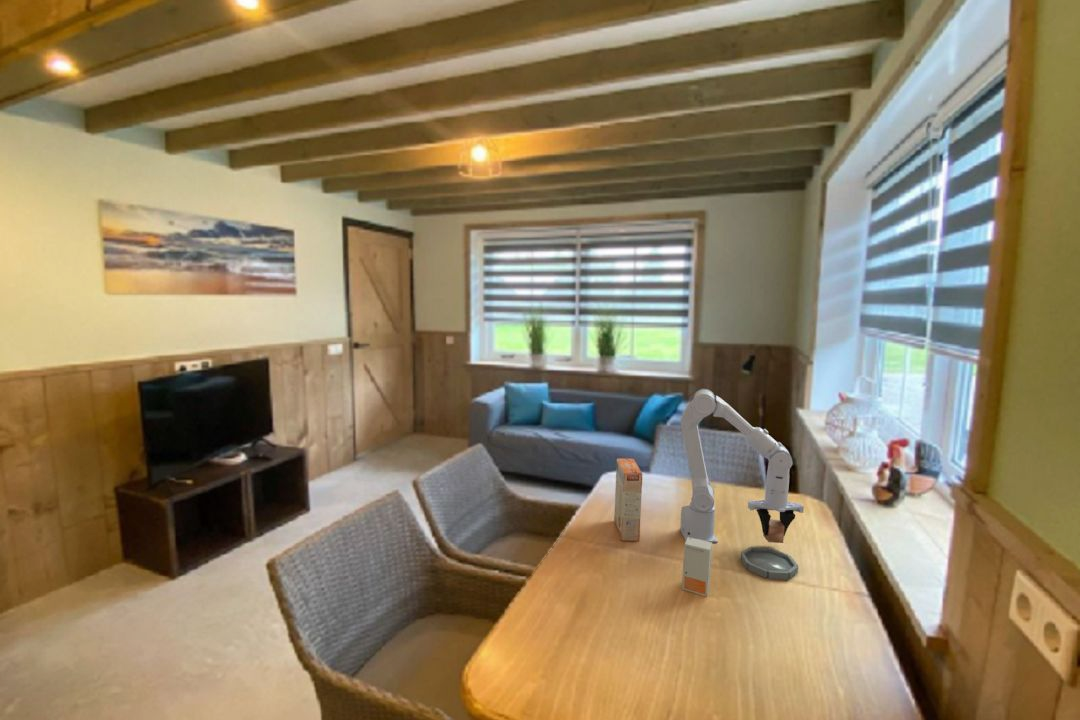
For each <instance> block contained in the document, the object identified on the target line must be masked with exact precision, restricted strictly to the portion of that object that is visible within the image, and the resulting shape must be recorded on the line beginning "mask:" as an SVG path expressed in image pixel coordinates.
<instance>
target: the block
mask: <svg viewBox="0 0 1080 720" xmlns="http://www.w3.org/2000/svg"><path fill="white" fill-rule="evenodd" d="M784 527H785V526H784V525H783V524H782V523H781V522H780V519H771V518H770V521H769V529H768V536H766V535H764V533H763V532H762V536H763V538H765V540H766V541H767V542H768V543H774V544H779V543H780V544H784V540H785V536H784Z"/></svg>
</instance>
